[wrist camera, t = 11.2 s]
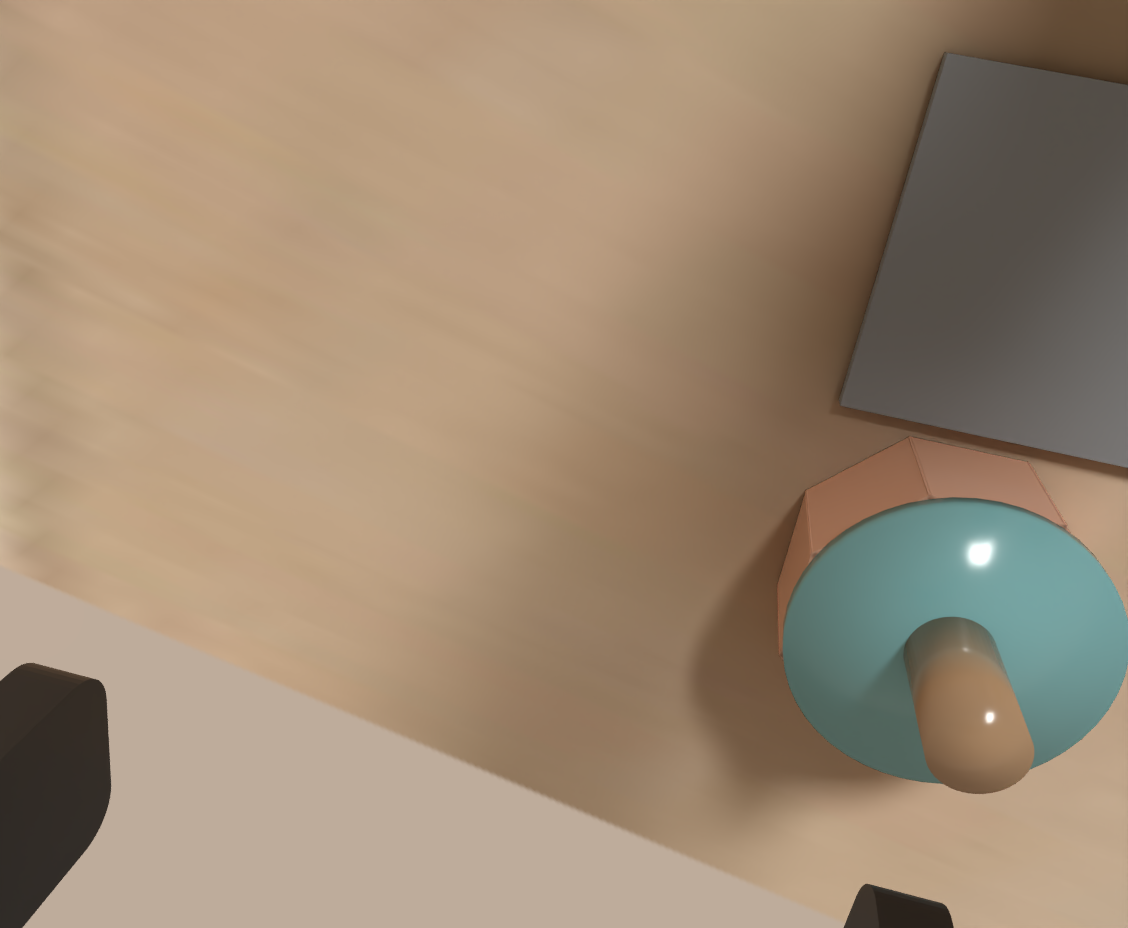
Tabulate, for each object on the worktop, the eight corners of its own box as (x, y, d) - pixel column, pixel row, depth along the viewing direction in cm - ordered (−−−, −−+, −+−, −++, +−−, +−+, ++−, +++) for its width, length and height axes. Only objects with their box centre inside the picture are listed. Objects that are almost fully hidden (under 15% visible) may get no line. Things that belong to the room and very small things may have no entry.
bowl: (826, 417, 37) (835, 472, 32) (1115, 480, 36) (1165, 546, 31) (758, 645, 41) (757, 721, 37) (1012, 706, 40) (1043, 792, 36)
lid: (829, 464, 32) (841, 550, 27) (1178, 539, 31) (1261, 643, 26) (750, 726, 37) (748, 842, 32) (1051, 800, 36) (1100, 932, 31)
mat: (944, 52, 31) (947, 52, 31) (1342, 123, 30) (1352, 125, 30) (838, 400, 36) (840, 405, 36) (1174, 472, 35) (1181, 479, 35)
